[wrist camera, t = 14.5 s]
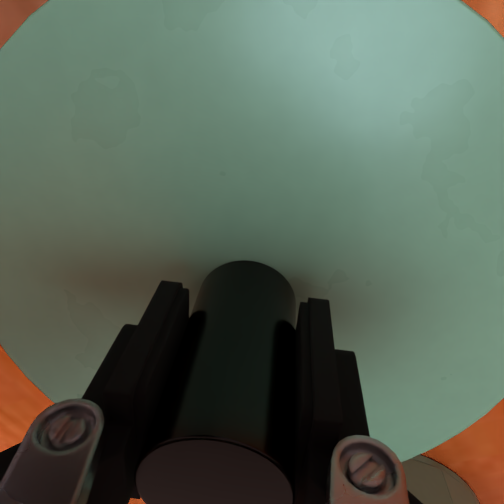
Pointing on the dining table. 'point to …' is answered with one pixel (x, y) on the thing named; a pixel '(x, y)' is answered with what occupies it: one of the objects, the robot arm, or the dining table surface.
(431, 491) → the pot
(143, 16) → the lid
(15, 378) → the dining table surface
